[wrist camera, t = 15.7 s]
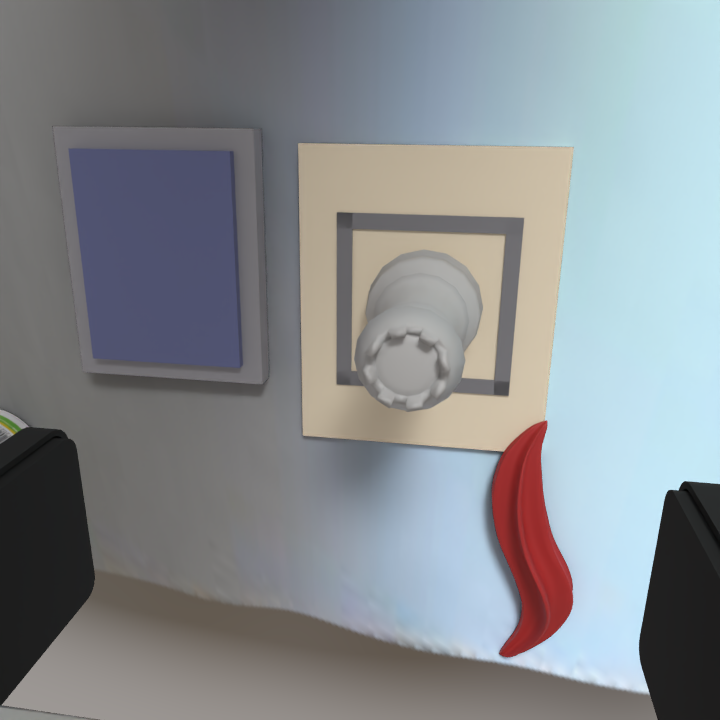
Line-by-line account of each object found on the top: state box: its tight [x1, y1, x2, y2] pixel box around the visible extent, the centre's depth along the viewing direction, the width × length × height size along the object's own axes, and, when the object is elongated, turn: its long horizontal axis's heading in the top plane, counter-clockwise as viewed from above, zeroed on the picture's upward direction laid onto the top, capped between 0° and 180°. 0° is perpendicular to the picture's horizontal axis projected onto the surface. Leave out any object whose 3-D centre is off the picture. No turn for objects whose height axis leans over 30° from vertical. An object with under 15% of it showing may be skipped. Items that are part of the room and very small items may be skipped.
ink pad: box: [52, 126, 269, 384], centre depth 27 cm, size 10×8×1 cm
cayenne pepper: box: [492, 421, 573, 657], centre depth 28 cm, size 12×5×2 cm, turn 171°
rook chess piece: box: [354, 250, 483, 412], centre depth 23 cm, size 4×4×8 cm
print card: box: [298, 143, 574, 452], centre depth 27 cm, size 12×10×1 cm
